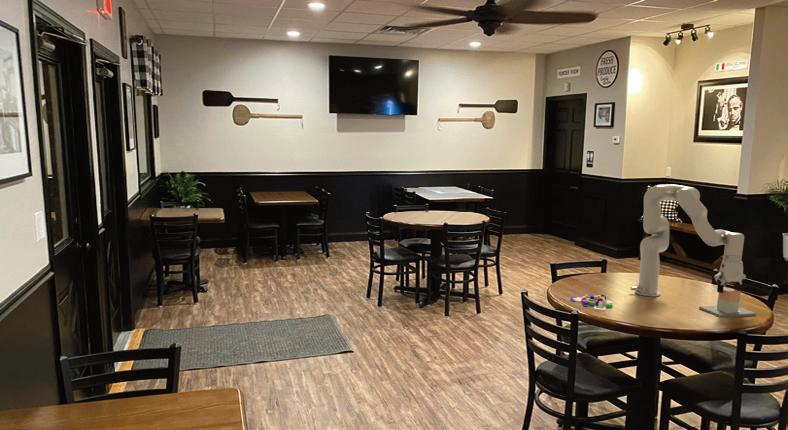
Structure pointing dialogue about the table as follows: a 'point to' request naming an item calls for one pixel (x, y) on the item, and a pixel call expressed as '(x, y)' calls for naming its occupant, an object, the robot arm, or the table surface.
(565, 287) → the table surface
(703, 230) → the robot arm
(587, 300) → the building block set
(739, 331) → the table surface
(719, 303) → the sage green block
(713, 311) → the slate baseplate
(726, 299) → the terracotta block
